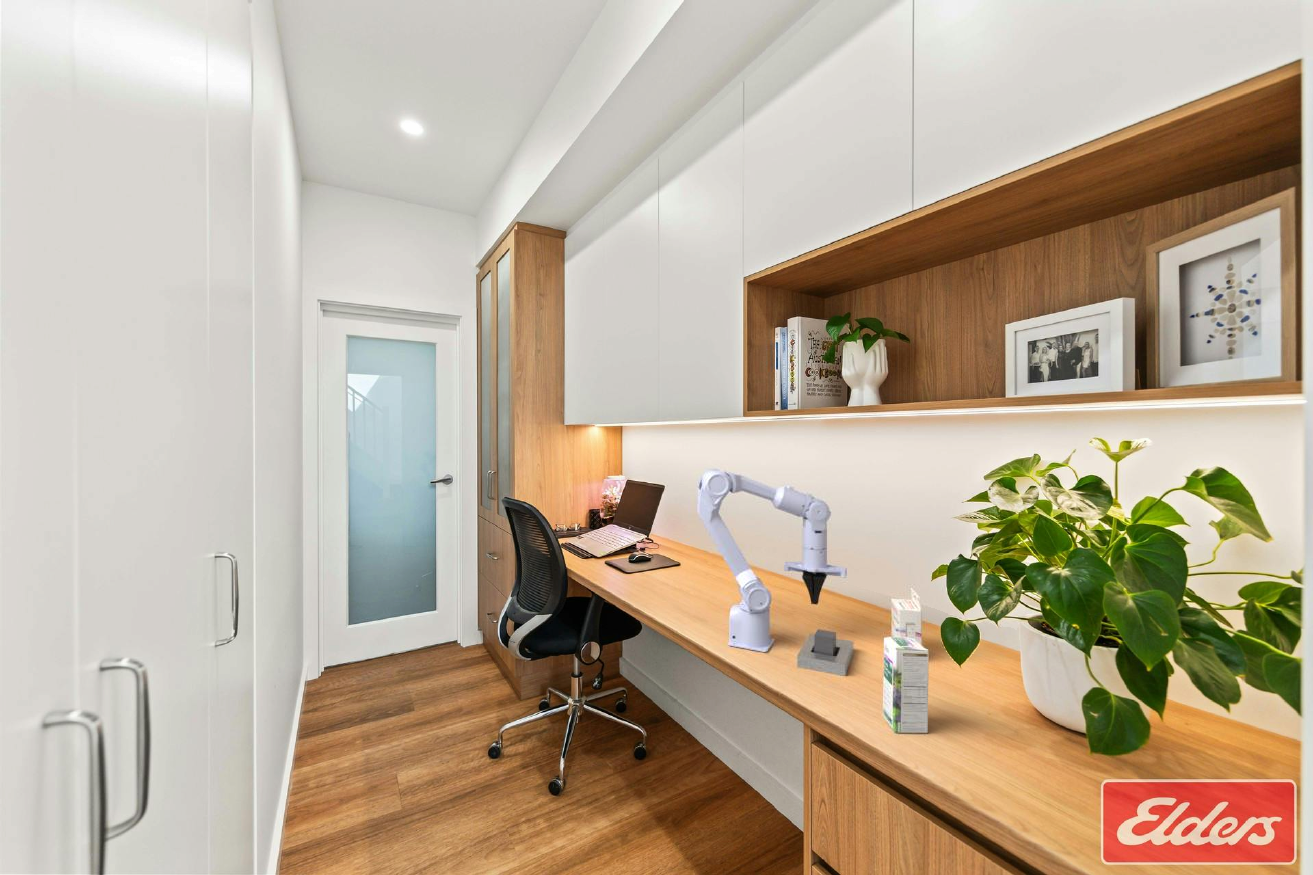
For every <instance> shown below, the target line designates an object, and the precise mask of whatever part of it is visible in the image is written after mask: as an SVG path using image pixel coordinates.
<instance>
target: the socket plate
mask: <svg viewBox="0 0 1313 875" xmlns="http://www.w3.org/2000/svg"><path fill="white" fill-rule="evenodd" d="M814 635H815V634H811V633H810V634H808V636H807V639H805V642H804V643H803V645H802V647H801V648H800V650H799V652H798V654H796V655H797V656H796V660H797V662H796V663H797V664H796V666H797V668H802V669H806V670H807V669H808V670H811V671H817V672H822V673H827V674H833V675H836V676H838V675H839V676H842V677H846V675H847V672H848V668H849V666H850V663H851V661H852V658H853V654H854V640H848V639H842V638H837V637H836V657H835V656H830V655H824V654H818V653H814Z"/></svg>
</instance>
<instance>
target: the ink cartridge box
mask: <svg viewBox="0 0 1313 875" xmlns="http://www.w3.org/2000/svg"><path fill="white" fill-rule="evenodd" d="M910 595H911V597H910V598H911V599H909V598H905V599H904V598H891V599H890V600H891V601H890V603H891V604H890V606H891V607H890V608H891V616H890V617H891V637H907V638H914V639H915V640H916V641H918V642H919V643H920V644H921V645H922V646H923V642H922V638H923V635H922V634H923V633H922V631H923V629H922V628H923V625H922V624H923V620H922V619H923V618H922V604H921V597H920V596H919V595H918V593H917V592H916V591H915V590H914V589H913V588H912V587H910Z"/></svg>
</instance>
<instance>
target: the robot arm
mask: <svg viewBox="0 0 1313 875" xmlns="http://www.w3.org/2000/svg"><path fill="white" fill-rule="evenodd" d="M740 492H743V493H748V494H750V495H753V496H756V497H760V498H762V499H765V500H768V501H771V503H772V505H773V507H774V508H775V509H777V510H779V511H782V512H785V513H787V514H790V515H794V516H796V517H798V518H800V517H801V518H802V561H785V562H784V563H783V570H784V572H798V573H802V575H801V578H802V580H803V582H804V584H805V586H806V589H807V592H808V595H809V597H810V604H811V605H818V604H819V602H820V601H819V600H820V595H821V591H822V588H823V586H824V583H825V581H826V579H827V578H828V576H834V577H841V578H847V574H848V573H847V569H848V568H847V567H841V566H837V565H836V566H835V565H831V564H828V528H827V527H828V526H827V525H828V524H827V522H828V521H829V519H830V518H831V516H832V512H831V511H830V507H829V505H828V504H827V503H826V502H825V501H824V500H821V499H819V498H816V497H814V496H813V495H812V494H811V493H808V492H807V493H806V494H805V493H803V492H800V491H798V490H795V489H794V487H793V486H791V485H787V486H783V485H782V486H779V487H777V488H773V487H772V486H769V485H766V484H764V483H762V482H759V481H756V480H754V479H752V478H749V477H746V476H743V475H742V474H738V473H735V472H734V473H733V472H730V471H729V472H728V471H721V470H720V469H718V468H711V469H710V468H709V469H707V470H706V471H704V472H703V474H702V475H701V477H700V480H699V482H698V484H697V507H696V512H697V515H698V517H699V518H700V520H701V522H702V524H703V525H704V527H705V529H706V530H707V533H708V534H709V536H710V537H711V540H712V541H713V542H714V544H715V546H716V547H717V549H718V551H719V553H720V554H721V557H722V558H723V559H724V562H725V563H726V565H727V566H728V568H729V570H730V572H731V573H732V575H733V576H734V579H735V580H736V582H737V583H738V592H739V595H740V596H741V597H742V599H741V600H740V603H739V604H733V605H732V606H731V608H730V611H729V615H728V616H729V618H728V631H729V632H728V646H729V647H735V648H740V649H746V650H751V651H756V652H757V651H758V652H762V653H767V652H768V651H769V650H770V648H771V647H772V645H773V644H774V643H775V640H776V639H774V638H771V636H770V635H771V634H770V633H771V632H770V631H771V630H770V629H771V628H770V626H771V624H770V623H771V620H770V619H771V616H770V615H771V613H770V612H771V611H770V608H771V607H770V605H771V603H772V600H773V599H772V593H771V592H770V590H769V588H767V587H766V586H765V585H764V583H763V581H762V580H761V578H759V577H758V576H756V574H755V573H754V571H753V570H752V568H751V566H750V565H749V564H750V563H748V561H747V559H746V557H745V556H744V554H743V552H742V550H741V549H740V548H739V545H738V544H737V543H736V541H735V539H734V537H733V535H732V533H731V532H730V530H729V529H728V527H727V526H726V524H725V522H724V520H723V518H722V516H721V515H720V513H719V512H720V509H721V506H722V503H723V501H724V499H725V498H726V497H727V496H728V494H729V493H731V494H735V493H740Z"/></svg>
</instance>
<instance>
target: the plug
mask: <svg viewBox="0 0 1313 875" xmlns="http://www.w3.org/2000/svg"><path fill="white" fill-rule="evenodd" d="M813 635H814V653H818V654H824V655H830V656H835V657H836V638H837V632H836V631H832V630H826V629H819V628H818V629H817V630H816V631H815V633H814V634H813Z"/></svg>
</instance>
